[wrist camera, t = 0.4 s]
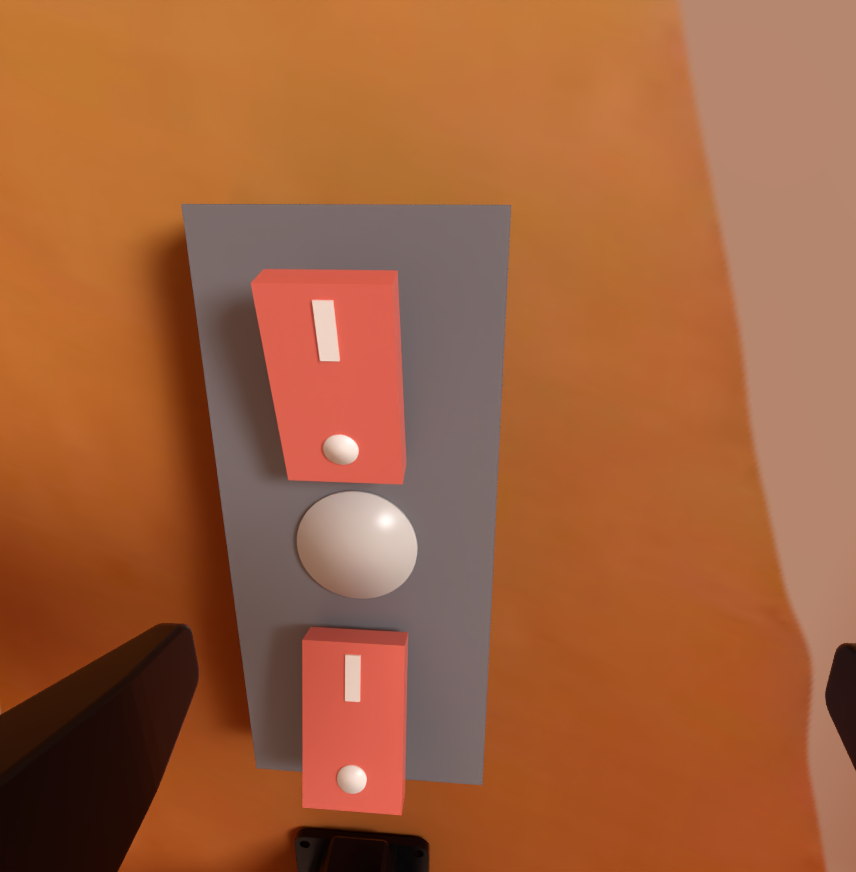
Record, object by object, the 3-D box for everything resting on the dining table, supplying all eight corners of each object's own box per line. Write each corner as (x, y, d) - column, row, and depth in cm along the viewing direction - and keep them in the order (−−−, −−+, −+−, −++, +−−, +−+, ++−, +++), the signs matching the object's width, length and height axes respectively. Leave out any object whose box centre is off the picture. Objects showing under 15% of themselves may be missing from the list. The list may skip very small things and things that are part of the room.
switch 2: (404, 794, 21) (401, 816, 20) (310, 786, 21) (301, 808, 20) (408, 632, 20) (404, 646, 19) (310, 626, 20) (301, 641, 19)
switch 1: (406, 463, 18) (402, 485, 17) (297, 459, 18) (287, 481, 17) (397, 270, 15) (392, 286, 14) (263, 268, 15) (249, 284, 14)
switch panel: (478, 789, 27) (478, 870, 24) (287, 775, 28) (260, 852, 24) (506, 206, 18) (512, 204, 15) (225, 205, 19) (170, 203, 16)
